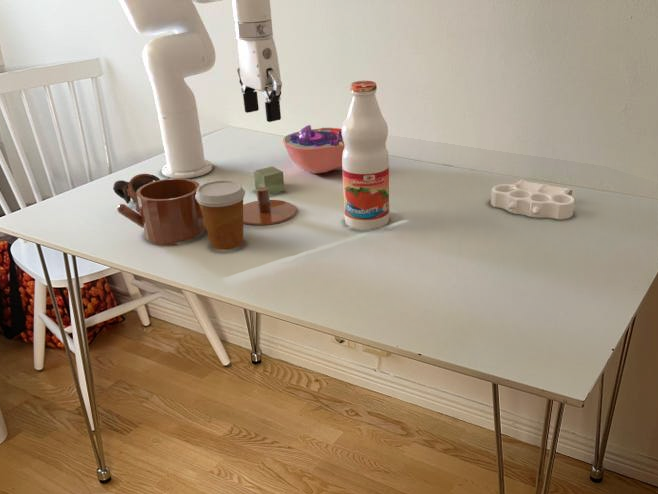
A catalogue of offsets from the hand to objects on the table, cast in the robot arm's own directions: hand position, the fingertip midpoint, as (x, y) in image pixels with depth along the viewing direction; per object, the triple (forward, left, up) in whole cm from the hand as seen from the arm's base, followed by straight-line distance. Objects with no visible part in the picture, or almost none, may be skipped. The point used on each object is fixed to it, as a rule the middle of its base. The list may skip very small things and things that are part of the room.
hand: (262, 115), depth 153 cm
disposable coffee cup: (+18, -20, -18) cm, 33 cm away
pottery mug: (-14, -26, -18) cm, 34 cm away
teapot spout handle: (+5, -26, -16) cm, 31 cm away
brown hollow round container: (+5, -26, -18) cm, 32 cm away
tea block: (-3, +1, -18) cm, 19 cm away
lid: (+9, -7, -18) cm, 21 cm away
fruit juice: (+26, +8, -18) cm, 33 cm away
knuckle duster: (+42, +41, -18) cm, 62 cm away
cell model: (-7, +19, -18) cm, 28 cm away
